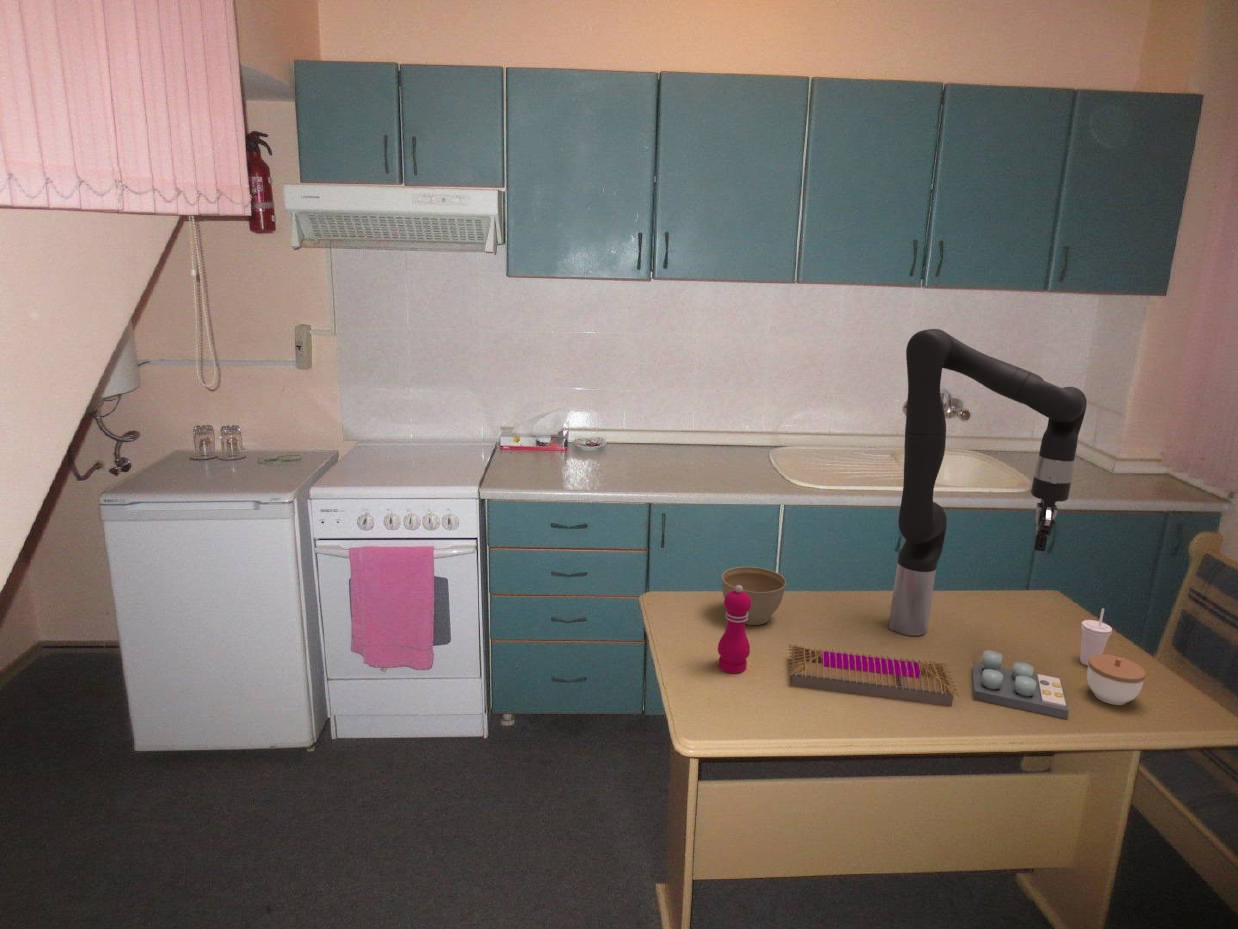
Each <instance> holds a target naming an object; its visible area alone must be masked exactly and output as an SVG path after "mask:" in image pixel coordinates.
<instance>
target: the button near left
mask: <svg viewBox="0 0 1238 929" xmlns="http://www.w3.org/2000/svg"><path fill="white" fill-rule="evenodd" d="M1002 680H1003V674H1002V673H1000V672H998V671H996V670H992V669H985V670H984V671H983V675H982V681H981V683H982V684H983V685H984V686H985V687H984V688H987V689H991V690H997V689H999V688H1001V685H1002Z"/></svg>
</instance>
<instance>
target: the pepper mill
mask: <svg viewBox="0 0 1238 929" xmlns="http://www.w3.org/2000/svg"><path fill="white" fill-rule="evenodd" d="M723 600H724V601H723V605H724V608H725V616H724V617H725V619H726V628H725V631H724V632H723V634H722V636H721V638H720V639H719V641H718V644H717V652H718V655H719V658H718V667H719V669H720V670H722V671H723V672H726V673H729V674H741V673H744V672H745V671H746V670H747V664H748V661H747V660H746V659H748V658H749V656H750V655H751V647H750V646H751V645H750V642H749V639H748V637H747V633H746V624H745V621H747V620H748V611H749V610H750V608H751V598H750V596H749V595H748V594H747V593H746V592H744V591H743V587H742V586H741V585H737V586H736V587H735V590H734V591H731V592H729V593H728V594H727V595H726V597H725V599H723Z"/></svg>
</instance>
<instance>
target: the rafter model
mask: <svg viewBox="0 0 1238 929" xmlns="http://www.w3.org/2000/svg"><path fill="white" fill-rule="evenodd" d="M788 648H789V649H788V651H789V652H788V654H789V655H788V657H789V659H788V660H789V664H790V665H789V667H790V668H789V670H790V671H789V676H791V679H792V680H791V681H792V687H798V688H808V689H814V690H823V691H831V692H838V693H847V694H852V695H854V694H855V695H863V696H870V697H877V698H885V699H892V700H901V701H909V702H917V703H925V704H933V705H940V706H948V707H949V706H950V707H952V706H953V703H954V697H955V696H957V697H960V695H959V692H957V688H955V687H956V685H954V681H952V680H953V678H952V677H951V676H952V675H951V674H949V673H950V671H949V668H948V667H947V666H948V665H947V664H946V662H941V661H939V662H935V661H931V660H929V662H928V661H927V660H923V661H921V660H920V659H917V661H916V660H915V659H913V658H912V659H911V660H912V661H911V660H910V659H908V658H907V657H906V658H905V659H903V658H902V657H899V658H896V657H895V656H893V658H891V657H890V656H888V655H887V658H886V657H884V656H883V655H880V656H881V657H879V656H878V655H877V654H874V656H872V654H870V653H869V654H868V655H866V654H865V653H863V652H862V655H861V654H859V652H856V654H854V653H853V652H852V651H850V653H847V652H846V650H844V652H841V651H840V649H838V650H837V651H838V652H836V651H835V650H834V649H832V651H829V650H828V648H825V650H822V648H821V647H820V648H819V649H816V647H814V649H812V648H811V647H810V646H808V647H805V646H804V645H799V646H798V645H796V644H791V643H789V644H788ZM790 654H791V655H790ZM812 663H815V668H816V675H813V669H812V668H813V664H812ZM818 663H819V664H820V663H821V668H822V676H821V675H819V668H818V667H819V666H818V665H819V664H818ZM808 664H809V667H810V668H809V669H810V674H807V665H808ZM825 668H828V672H829V673H828V674H829V677H828V676H827V677H826V676H825V670H824V669H825ZM831 669H834V672H835V678H834V677H831V676H832V675H831ZM838 669H839V670H840V671H841V676H842V678H838ZM844 670H846V671H847V675H848V679H844ZM851 671H853V672H854V678H855V680H852V679H851ZM857 672H860V676H861V681H859V680H858V679H857V678H858V677H857ZM864 673H866V675H867V679H868V682H867V681H864V676H863V674H864ZM870 673H871V674H873V678H874V682H871V680H870V679H871V678H870ZM877 674H879V677H880V680H881V683H877ZM883 675H885V677H886V680H887V684H884V679H883ZM890 676H892V679H893V682H894V685H891V683H890V679H889V678H890ZM928 676H929V677H928ZM904 678H905V679H904ZM909 678H910V679H911V680H912V682H913V685H914V688H913V687H911V686H910V685H911V684H910V679H909ZM923 678H924V681H925V684H926V687H927V689H924V685H923V683H922V682H923ZM929 678H930V681H931V683H932V687H933V689H934V690H931V689H930V682H929ZM916 679H918V682H919V684H920V686H921V687H920V688H917V683H916ZM935 679H936V682H937V684H938V687H939V690H940V691H938V690H937V689H936V688H937V687H936V682H935ZM905 680H906V681H905ZM906 683H907V685H906ZM897 684H898V685H897ZM907 686H908V687H907Z"/></svg>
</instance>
